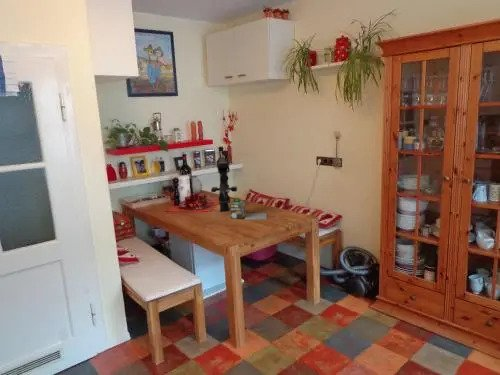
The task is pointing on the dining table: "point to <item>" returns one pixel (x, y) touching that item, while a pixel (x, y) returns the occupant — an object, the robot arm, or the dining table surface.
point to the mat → (256, 216)
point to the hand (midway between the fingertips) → (224, 200)
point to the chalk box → (237, 209)
